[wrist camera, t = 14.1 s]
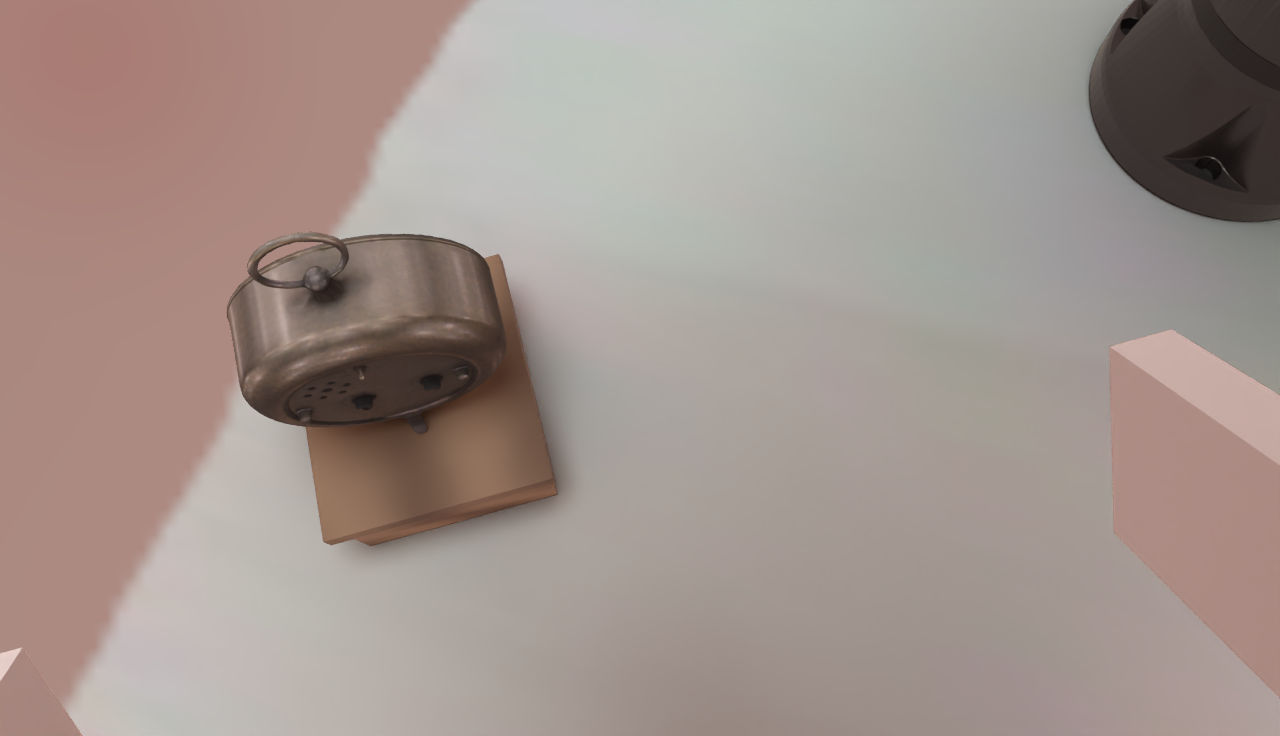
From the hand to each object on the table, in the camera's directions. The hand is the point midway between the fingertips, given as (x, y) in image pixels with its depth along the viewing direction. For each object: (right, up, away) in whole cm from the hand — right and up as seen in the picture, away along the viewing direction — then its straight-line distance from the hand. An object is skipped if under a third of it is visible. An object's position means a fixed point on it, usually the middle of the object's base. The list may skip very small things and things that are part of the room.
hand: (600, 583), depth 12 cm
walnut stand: (-10, 0, +41) cm, 42 cm away
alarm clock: (-10, +1, +36) cm, 37 cm away
